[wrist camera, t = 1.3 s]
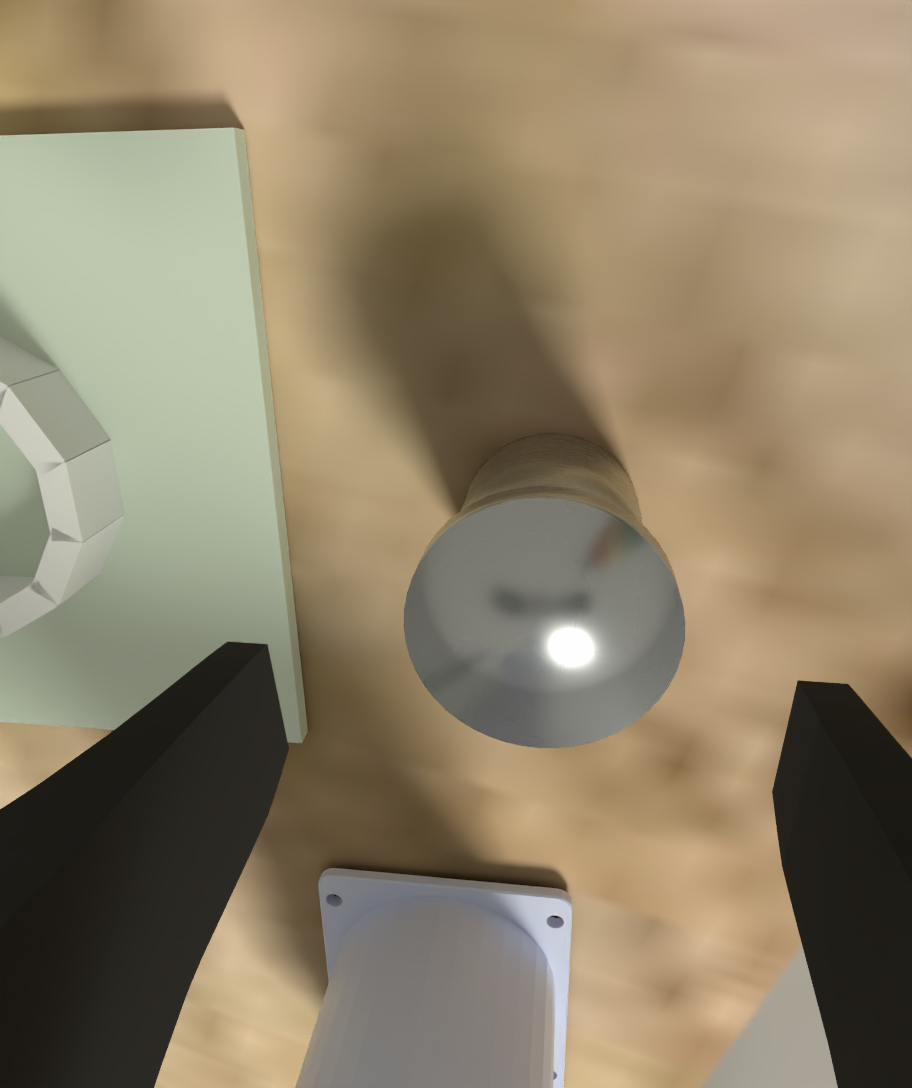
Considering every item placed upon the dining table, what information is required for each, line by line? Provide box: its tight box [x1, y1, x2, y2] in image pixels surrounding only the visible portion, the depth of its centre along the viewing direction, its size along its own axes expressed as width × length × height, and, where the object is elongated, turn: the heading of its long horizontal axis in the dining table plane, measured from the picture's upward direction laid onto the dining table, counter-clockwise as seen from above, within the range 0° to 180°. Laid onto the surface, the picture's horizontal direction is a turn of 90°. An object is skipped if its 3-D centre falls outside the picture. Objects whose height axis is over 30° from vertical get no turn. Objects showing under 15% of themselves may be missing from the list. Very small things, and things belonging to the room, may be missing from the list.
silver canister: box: [404, 434, 685, 748], centre depth 18 cm, size 5×5×6 cm
